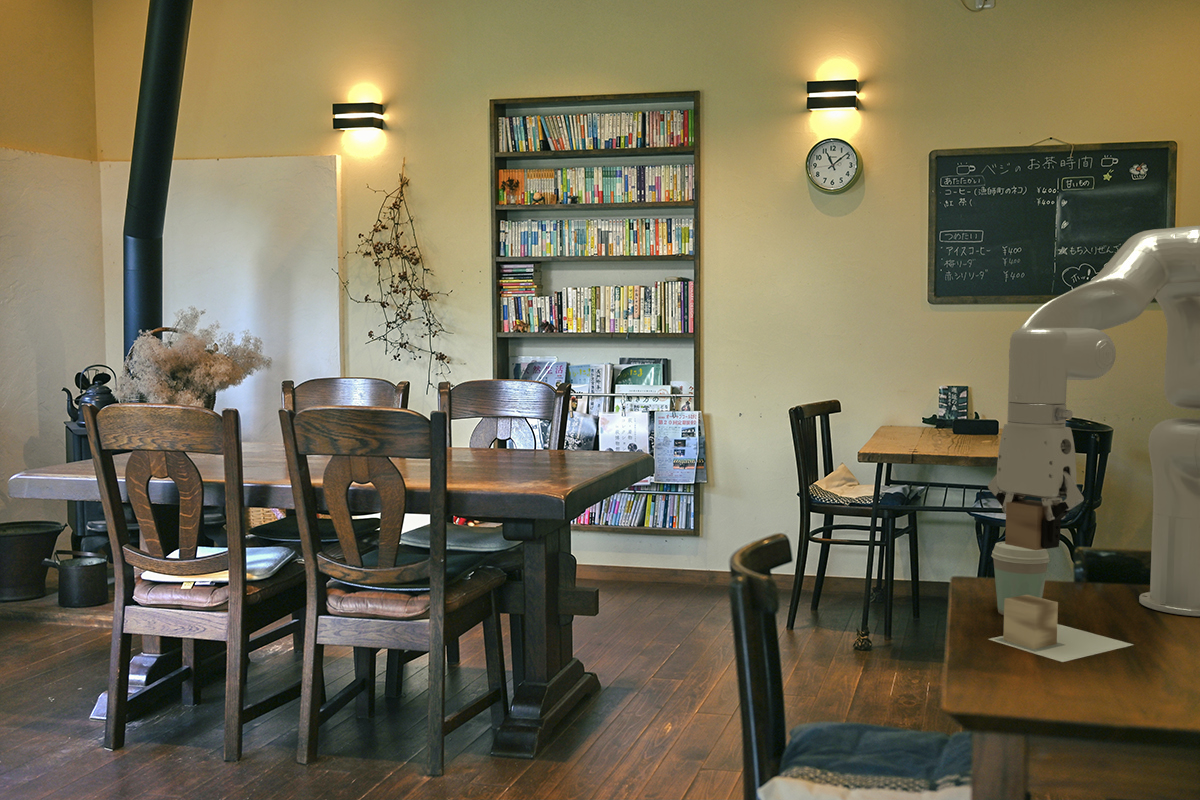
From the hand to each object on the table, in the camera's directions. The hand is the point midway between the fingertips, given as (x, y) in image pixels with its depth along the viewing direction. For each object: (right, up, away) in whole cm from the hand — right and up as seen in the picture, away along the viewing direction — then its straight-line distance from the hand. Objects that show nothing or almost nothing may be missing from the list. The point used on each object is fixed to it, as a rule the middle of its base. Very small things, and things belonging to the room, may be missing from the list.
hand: (1032, 542), depth 142 cm
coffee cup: (+5, -15, +16) cm, 23 cm away
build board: (+5, -16, +1) cm, 16 cm away
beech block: (0, -14, +1) cm, 14 cm away
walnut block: (0, 0, 0) cm, 0 cm away
